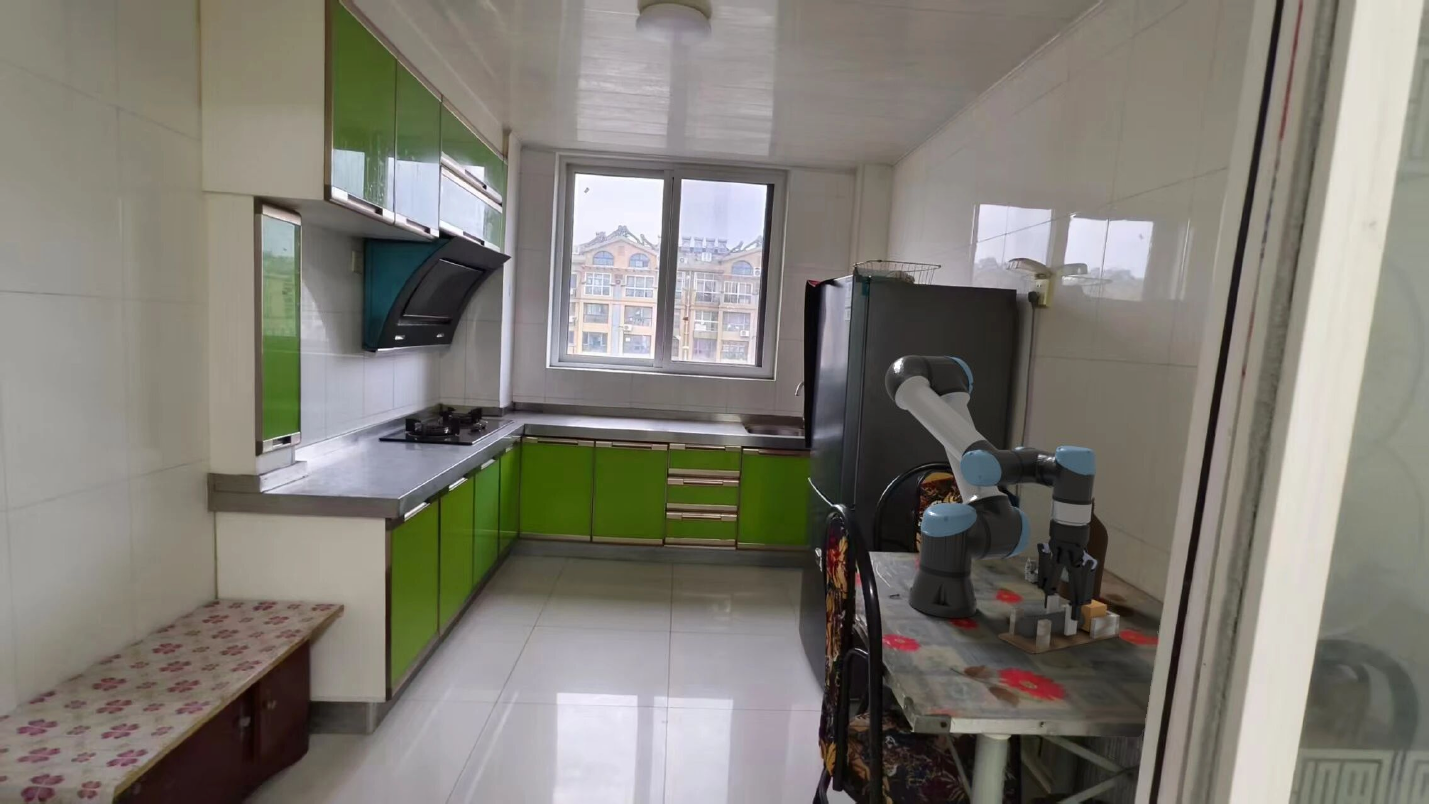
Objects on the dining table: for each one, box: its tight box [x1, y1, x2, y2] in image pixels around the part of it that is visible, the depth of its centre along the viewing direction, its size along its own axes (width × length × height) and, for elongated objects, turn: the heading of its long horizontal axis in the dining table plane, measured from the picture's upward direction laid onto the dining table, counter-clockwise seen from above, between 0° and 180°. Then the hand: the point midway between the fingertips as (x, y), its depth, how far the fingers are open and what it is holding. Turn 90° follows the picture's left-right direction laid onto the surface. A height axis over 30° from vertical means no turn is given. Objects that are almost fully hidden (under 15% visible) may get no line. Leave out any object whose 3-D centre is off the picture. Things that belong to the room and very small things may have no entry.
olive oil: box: [1057, 496, 1109, 602], centre depth 177 cm, size 11×11×25 cm
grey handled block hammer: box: [1017, 600, 1108, 638], centre depth 152 cm, size 22×5×5 cm, turn 115°
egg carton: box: [1024, 557, 1038, 583], centre depth 191 cm, size 11×8×4 cm
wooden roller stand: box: [997, 603, 1120, 655], centre depth 153 cm, size 26×9×6 cm, turn 115°
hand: (1060, 629), depth 153 cm, fingers closed on grey handled block hammer, 4 cm apart
